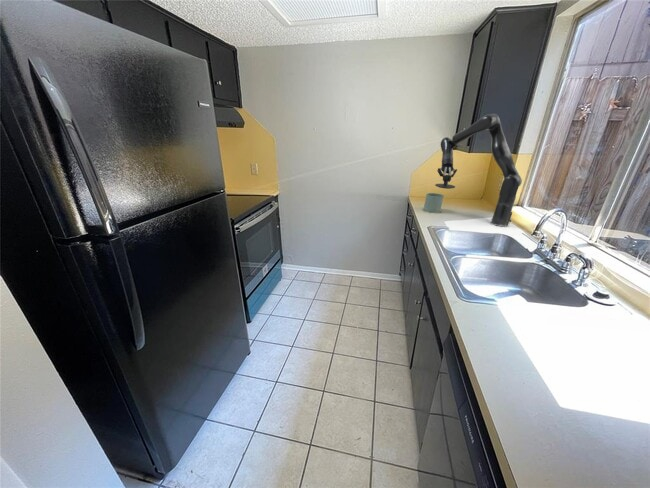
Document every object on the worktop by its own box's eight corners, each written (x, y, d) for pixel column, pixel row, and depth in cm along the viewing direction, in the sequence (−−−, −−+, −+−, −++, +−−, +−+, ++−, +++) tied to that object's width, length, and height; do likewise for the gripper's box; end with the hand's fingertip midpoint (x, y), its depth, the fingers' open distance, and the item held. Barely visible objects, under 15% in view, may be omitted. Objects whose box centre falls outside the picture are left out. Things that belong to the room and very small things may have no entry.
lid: (450, 185, 193) (453, 173, 190) (457, 189, 181) (461, 177, 178) (432, 184, 194) (434, 173, 190) (438, 188, 182) (441, 176, 178)
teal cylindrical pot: (437, 208, 209) (440, 193, 204) (442, 213, 198) (446, 197, 193) (421, 207, 210) (424, 192, 205) (426, 212, 199) (429, 196, 193)
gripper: (438, 157, 187) (438, 177, 182) (459, 158, 185) (459, 178, 179) (436, 164, 194) (435, 183, 188) (455, 165, 192) (455, 184, 186)
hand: (446, 181), depth 184 cm, fingers closed on lid, 2 cm apart
